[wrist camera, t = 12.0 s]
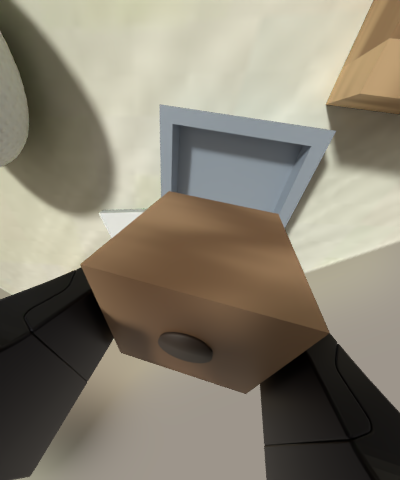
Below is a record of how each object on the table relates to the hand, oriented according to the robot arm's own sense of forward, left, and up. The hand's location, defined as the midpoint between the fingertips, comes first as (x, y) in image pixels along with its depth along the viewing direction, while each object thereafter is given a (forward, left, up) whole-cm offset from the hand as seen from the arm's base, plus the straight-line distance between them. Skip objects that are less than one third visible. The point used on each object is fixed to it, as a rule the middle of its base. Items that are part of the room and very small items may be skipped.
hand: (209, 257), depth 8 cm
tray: (0, 0, -10) cm, 10 cm away
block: (0, 0, -1) cm, 1 cm away
